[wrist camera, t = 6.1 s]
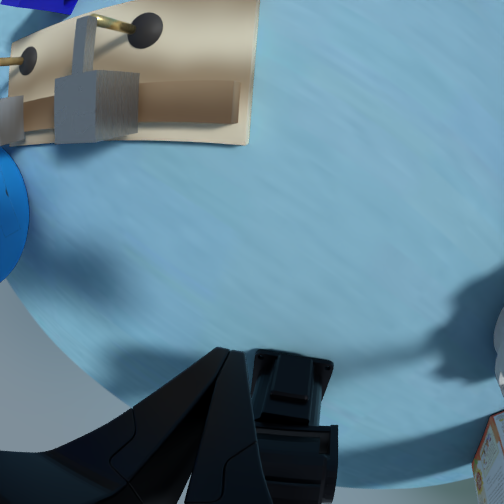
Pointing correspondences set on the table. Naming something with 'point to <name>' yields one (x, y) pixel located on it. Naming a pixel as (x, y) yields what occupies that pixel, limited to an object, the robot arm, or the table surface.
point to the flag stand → (499, 350)
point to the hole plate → (147, 71)
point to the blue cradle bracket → (44, 5)
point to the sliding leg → (95, 91)
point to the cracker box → (490, 463)
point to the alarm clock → (11, 214)
